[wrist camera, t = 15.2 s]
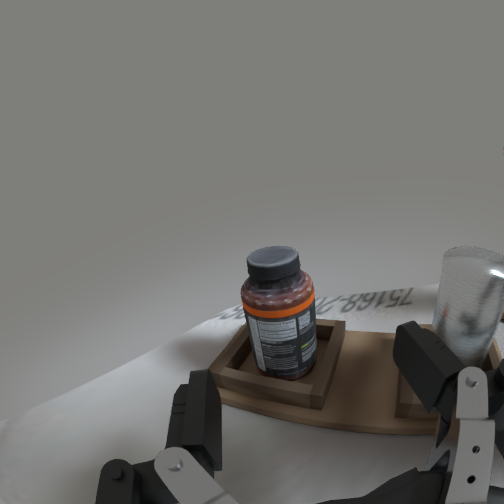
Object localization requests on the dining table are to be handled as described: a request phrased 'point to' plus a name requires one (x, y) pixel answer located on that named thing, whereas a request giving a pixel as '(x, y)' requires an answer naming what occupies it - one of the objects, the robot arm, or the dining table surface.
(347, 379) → the wooden divided tray
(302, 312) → the supplement bottle
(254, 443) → the dining table surface
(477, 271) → the can
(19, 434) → the dining table surface
